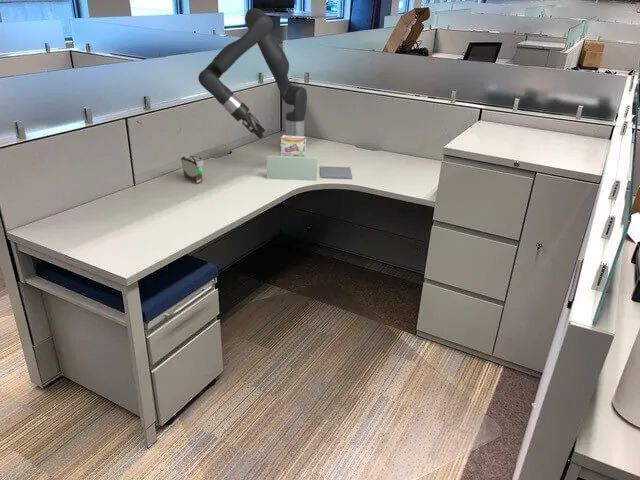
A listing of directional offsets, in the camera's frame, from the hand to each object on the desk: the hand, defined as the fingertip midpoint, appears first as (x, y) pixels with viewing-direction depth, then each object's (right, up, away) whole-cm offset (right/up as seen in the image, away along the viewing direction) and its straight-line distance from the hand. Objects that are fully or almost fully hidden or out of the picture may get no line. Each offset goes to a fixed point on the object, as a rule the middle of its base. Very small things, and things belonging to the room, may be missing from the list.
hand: (262, 134), depth 223 cm
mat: (+33, -16, +9) cm, 38 cm away
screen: (+13, -20, 0) cm, 23 cm away
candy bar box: (+13, -16, +8) cm, 22 cm away
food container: (-28, -21, -5) cm, 35 cm away
